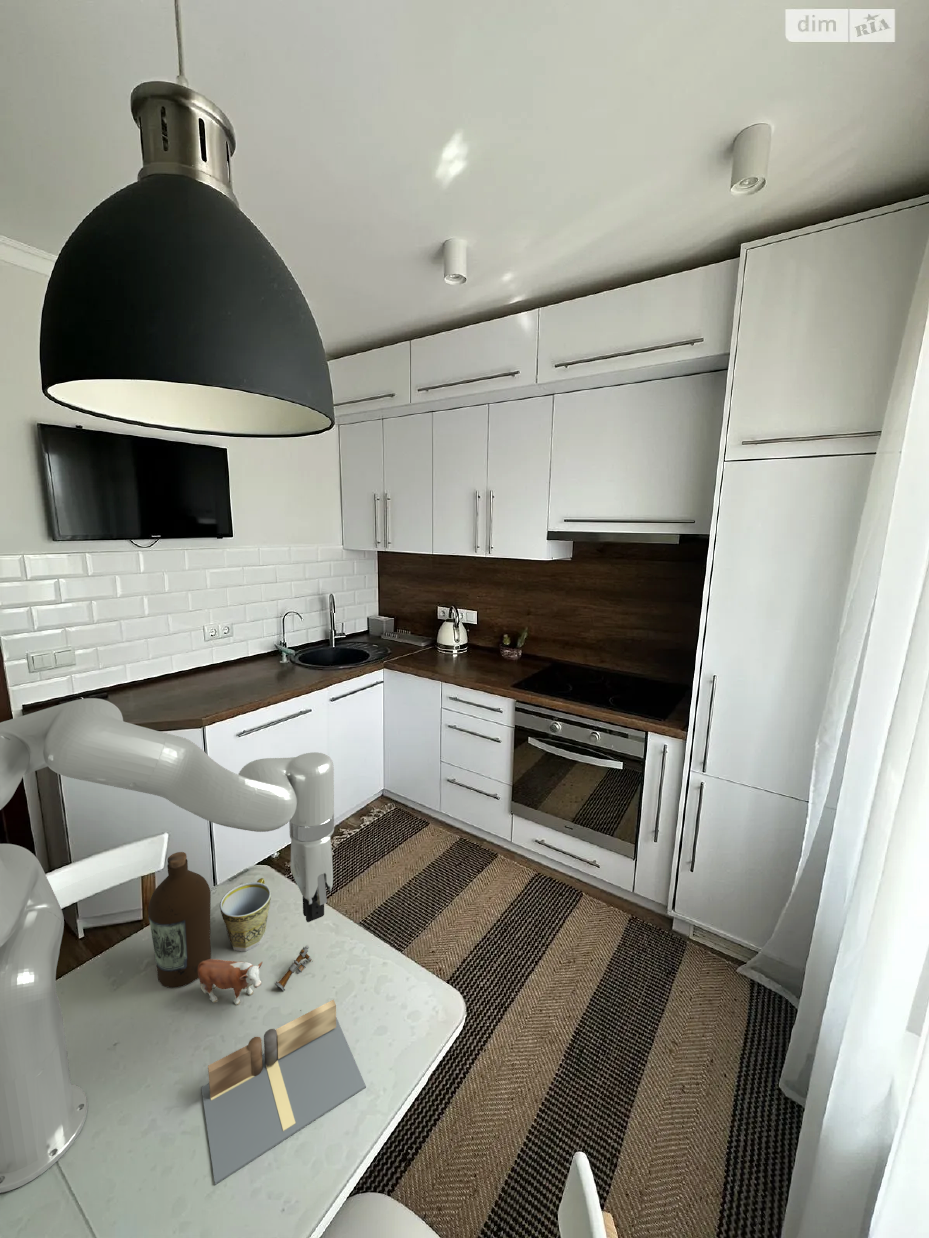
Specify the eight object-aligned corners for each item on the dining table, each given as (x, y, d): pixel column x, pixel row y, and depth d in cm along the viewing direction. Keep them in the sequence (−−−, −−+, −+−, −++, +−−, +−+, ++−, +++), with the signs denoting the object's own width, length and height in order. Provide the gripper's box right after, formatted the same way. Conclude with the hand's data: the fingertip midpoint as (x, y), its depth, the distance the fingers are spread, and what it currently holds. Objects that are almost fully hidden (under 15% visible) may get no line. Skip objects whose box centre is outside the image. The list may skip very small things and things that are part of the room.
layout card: (215, 1184, 67) (214, 1182, 67) (201, 1088, 78) (201, 1086, 78) (365, 1087, 79) (365, 1085, 79) (335, 1016, 91) (335, 1014, 91)
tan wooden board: (266, 1068, 81) (265, 1043, 80) (263, 1057, 83) (262, 1032, 82) (336, 1028, 88) (336, 1005, 87) (333, 1019, 89) (332, 996, 88)
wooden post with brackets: (316, 956, 102) (309, 945, 100) (288, 997, 97) (280, 987, 94) (310, 952, 103) (303, 941, 101) (282, 992, 97) (274, 982, 95)
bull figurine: (257, 1016, 90) (256, 978, 89) (193, 999, 93) (191, 962, 91) (271, 994, 94) (270, 958, 93) (210, 979, 97) (207, 944, 96)
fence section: (211, 1101, 76) (209, 1072, 75) (209, 1088, 78) (207, 1061, 77) (263, 1071, 81) (262, 1044, 80) (261, 1060, 82) (259, 1034, 81)
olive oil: (178, 942, 105) (170, 837, 101) (225, 948, 104) (219, 842, 100) (141, 987, 95) (130, 872, 90) (192, 994, 94) (184, 878, 89)
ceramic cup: (259, 960, 102) (257, 918, 100) (212, 956, 102) (209, 914, 100) (285, 912, 114) (284, 874, 113) (243, 909, 115) (242, 871, 113)
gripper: (278, 809, 90) (281, 897, 94) (303, 855, 78) (305, 954, 81) (319, 797, 95) (320, 882, 98) (348, 840, 82) (349, 935, 86)
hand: (313, 914), depth 90 cm, fingers closed
